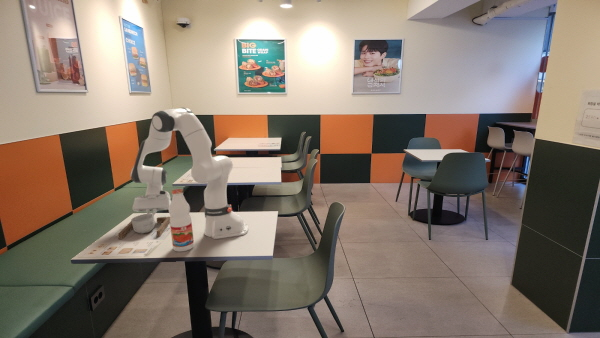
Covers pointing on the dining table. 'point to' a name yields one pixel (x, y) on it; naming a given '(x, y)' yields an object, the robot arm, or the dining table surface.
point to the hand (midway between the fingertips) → (150, 217)
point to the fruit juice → (180, 222)
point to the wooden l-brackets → (165, 223)
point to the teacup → (143, 223)
